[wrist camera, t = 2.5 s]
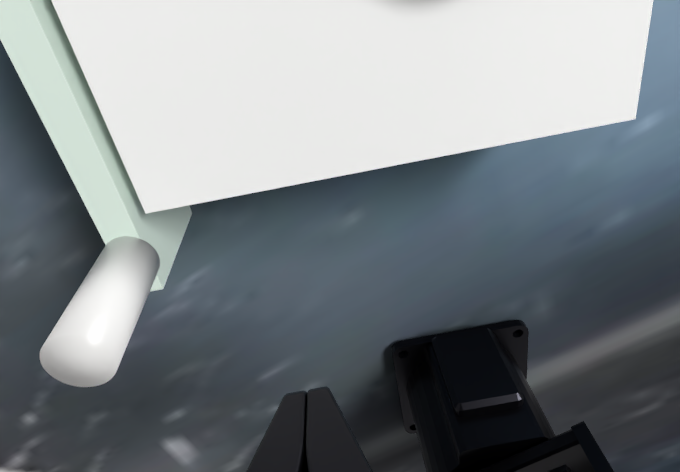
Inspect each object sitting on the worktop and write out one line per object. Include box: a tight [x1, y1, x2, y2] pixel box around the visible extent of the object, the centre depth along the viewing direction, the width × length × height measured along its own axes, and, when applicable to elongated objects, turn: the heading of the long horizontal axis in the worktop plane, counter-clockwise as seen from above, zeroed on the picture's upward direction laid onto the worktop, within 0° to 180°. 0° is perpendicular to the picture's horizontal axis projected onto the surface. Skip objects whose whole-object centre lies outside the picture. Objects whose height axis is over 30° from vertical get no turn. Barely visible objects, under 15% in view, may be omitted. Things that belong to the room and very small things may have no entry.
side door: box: [0, 0, 192, 387], centre depth 12 cm, size 10×2×9 cm, turn 10°
